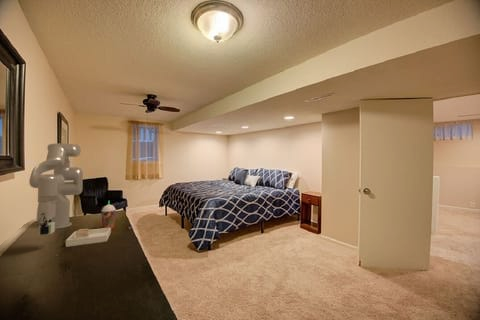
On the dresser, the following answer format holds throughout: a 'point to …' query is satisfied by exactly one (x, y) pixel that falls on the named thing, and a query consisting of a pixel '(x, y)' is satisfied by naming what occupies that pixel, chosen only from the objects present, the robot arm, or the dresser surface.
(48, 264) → the dresser surface
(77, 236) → the maple block
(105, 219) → the smoothie
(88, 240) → the tray
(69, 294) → the dresser surface
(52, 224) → the sage block
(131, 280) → the dresser surface
